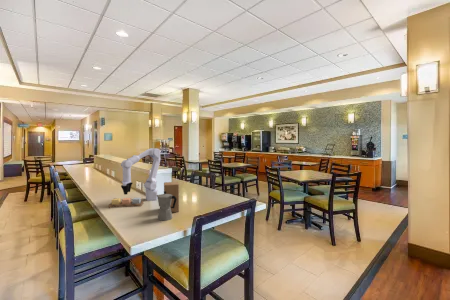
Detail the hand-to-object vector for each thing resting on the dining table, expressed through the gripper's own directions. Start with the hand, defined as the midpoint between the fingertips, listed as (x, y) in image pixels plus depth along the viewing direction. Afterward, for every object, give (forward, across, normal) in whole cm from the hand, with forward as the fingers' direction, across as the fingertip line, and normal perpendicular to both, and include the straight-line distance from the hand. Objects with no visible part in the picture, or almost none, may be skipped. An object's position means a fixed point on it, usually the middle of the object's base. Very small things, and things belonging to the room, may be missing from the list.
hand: (127, 193), depth 173 cm
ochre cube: (+9, +2, -8) cm, 12 cm away
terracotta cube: (+9, +2, 0) cm, 9 cm away
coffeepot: (+10, +33, +33) cm, 48 cm away
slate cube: (+9, +2, +7) cm, 12 cm away
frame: (+10, +2, 0) cm, 10 cm away
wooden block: (+10, +17, +35) cm, 40 cm away
